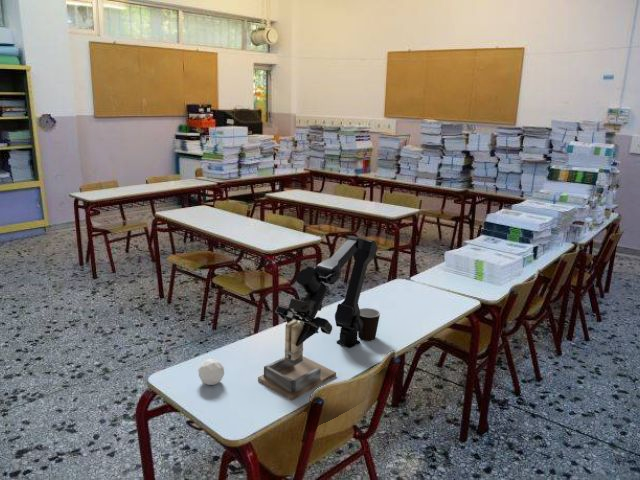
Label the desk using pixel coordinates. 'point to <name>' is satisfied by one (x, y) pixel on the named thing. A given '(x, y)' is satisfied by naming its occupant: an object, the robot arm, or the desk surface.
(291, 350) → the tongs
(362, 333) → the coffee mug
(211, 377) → the ball
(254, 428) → the desk surface
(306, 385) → the walnut stand
